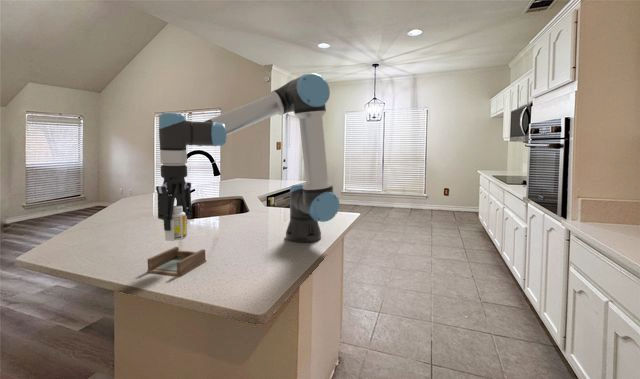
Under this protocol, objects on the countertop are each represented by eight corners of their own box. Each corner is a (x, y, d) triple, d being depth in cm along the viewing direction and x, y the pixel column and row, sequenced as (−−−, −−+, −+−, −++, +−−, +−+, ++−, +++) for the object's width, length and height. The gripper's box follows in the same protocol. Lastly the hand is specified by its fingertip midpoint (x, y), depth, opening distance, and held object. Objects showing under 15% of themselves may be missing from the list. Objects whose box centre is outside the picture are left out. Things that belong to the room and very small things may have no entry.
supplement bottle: (181, 235, 108) (180, 204, 107) (189, 238, 104) (188, 206, 103) (164, 238, 104) (162, 206, 103) (172, 242, 100) (171, 209, 99)
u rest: (206, 261, 110) (206, 249, 110) (181, 276, 98) (181, 262, 97) (175, 258, 113) (174, 246, 113) (147, 272, 101) (146, 259, 100)
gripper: (182, 163, 111) (184, 229, 114) (140, 165, 93) (144, 244, 96) (202, 163, 109) (203, 231, 112) (163, 166, 91) (166, 247, 94)
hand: (176, 237), depth 104 cm, fingers closed on supplement bottle, 6 cm apart
